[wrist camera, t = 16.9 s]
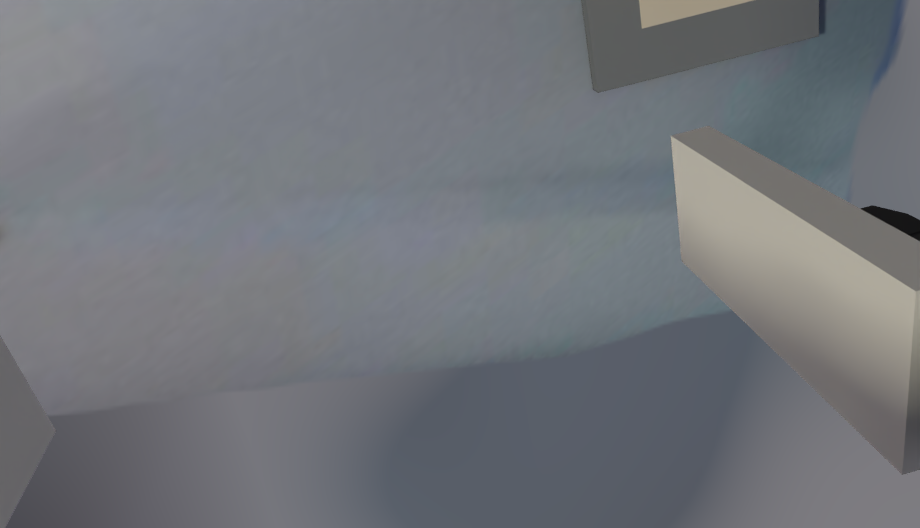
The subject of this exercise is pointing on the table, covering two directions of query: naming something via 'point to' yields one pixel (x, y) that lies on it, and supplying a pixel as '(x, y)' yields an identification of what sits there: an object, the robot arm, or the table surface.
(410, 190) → the table surface
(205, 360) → the table surface
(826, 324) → the robot arm
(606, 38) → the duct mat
